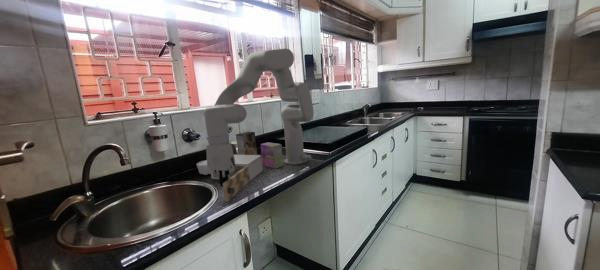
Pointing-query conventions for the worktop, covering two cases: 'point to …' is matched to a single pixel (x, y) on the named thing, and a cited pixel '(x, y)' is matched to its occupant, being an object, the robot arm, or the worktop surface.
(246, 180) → the door
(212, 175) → the box
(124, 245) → the worktop surface
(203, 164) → the ramekin
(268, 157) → the box
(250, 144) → the coffee box
